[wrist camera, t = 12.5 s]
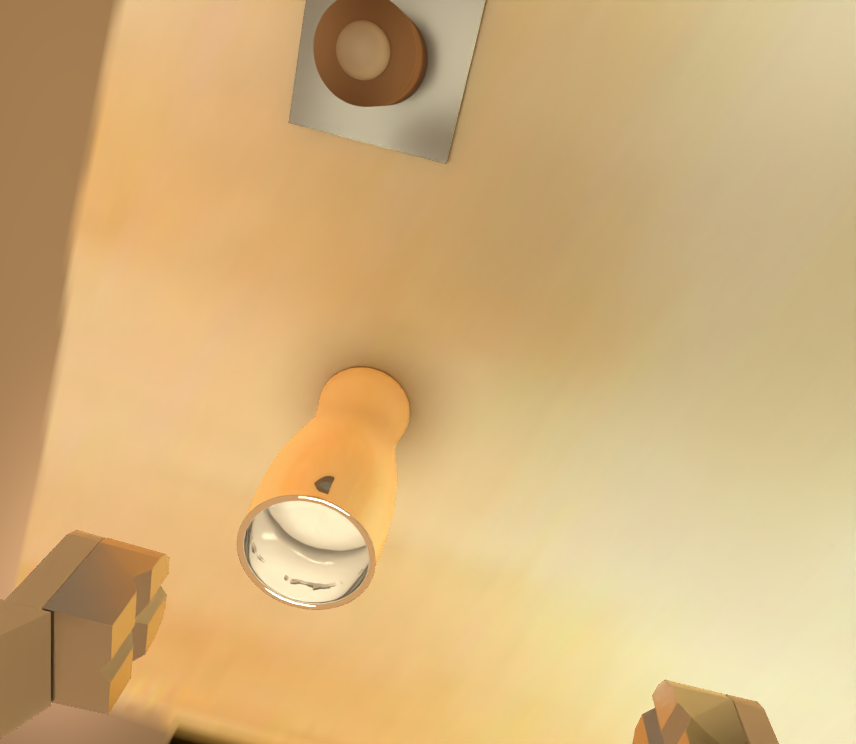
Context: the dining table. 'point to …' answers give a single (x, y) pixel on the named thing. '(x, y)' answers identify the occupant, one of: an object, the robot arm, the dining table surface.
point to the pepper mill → (369, 52)
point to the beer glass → (328, 496)
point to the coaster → (422, 112)
